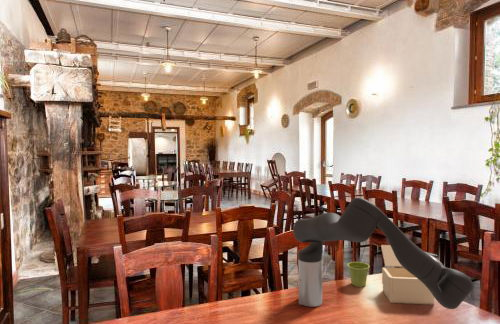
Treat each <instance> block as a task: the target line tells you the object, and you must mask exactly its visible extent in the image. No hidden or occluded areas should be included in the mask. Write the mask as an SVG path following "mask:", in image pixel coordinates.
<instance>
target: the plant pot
mask: <svg viewBox="0 0 500 324" xmlns="http://www.w3.org/2000/svg"><path fill="white" fill-rule="evenodd" d="M347 268H348V270H349V276H350V282H351V283H350V284H351V285H352V286H354V287H359V288H362V287H365V286H366V285H367V277H368V272H369V269H370V265H369V264H368V263H365V262H361V261H351V262H348V263H347Z"/></svg>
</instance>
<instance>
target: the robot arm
mask: <svg viewBox="0 0 500 324" xmlns="http://www.w3.org/2000/svg"><path fill="white" fill-rule="evenodd" d="M376 228H378V229H379V230H380V231H381V232H382V233H383V235H384V237H385V238H386V239H387V241H388V243H389V245H391V248H392V250H393V252H394V254H395V256H396V258H397V260H398V261H399V263H400V264H401V265H402V266H403V267H402V268H405V269H406V270H407V271H408V272H410V273H411V274H412V275H414V276H415V277H416V278H418V279H419V280H420V281H421V282H422V283H423V284H424V285H425V286H426V287H427V288H428V289H429V291H430V292H431V293H432V295H433V296H434V300H436V301H437V302H438V304H439V305H441V306H442V307H443V308H445V309H447V310H448V309H449V310H455V309H457V308H458V307H459V306H460V305H461V304H462V303H463V301H465V300H466V298H468V296H469V295H470V294H471V293H472V292H473V289H474V284H473V281H472V279H471V278H470V277H469V276H468V275H467V274H466V273H464V272H462V271H461V270H457V269H454V268H451V267H450V268H449V267H447V266H445V265H444V264H443V263H442V262H441V261H440V260H439V258H438V254H436V253H432V252H427V251H424V250H423V249H422V248H420V247H419V246H418V245H416V244H415V243H414V242H413V240H411V239H410V238H409V237H408V236H407V235H406V234H405V233H404V232H403V231H402V230H401V229H400V228H399V227H398V226H397V224H396V223H394V222H393V221H392V220H391V219H390V218H389V217H388V215H386V214H385V213H384V212H383V211H382V209H380V208H379V207H378V206H376V204H374V203H373V202H371V201H369V200H367V199H365V198H362V197H354V198H352V199H351V201H349V204H348V205H347V206H346V208H345V209H344V211H343V212H342V214H341V216H340V215H339V214H337V213H335V212H325V213H321V214H319V215H316V216H312V217H311V218H310V217H309V218H299V219H297V220H296V221H295V222H294V224H293V228H292V232H293V236H294V238H295V239H296V241H297V242H299V243H301V244H303V243H304V244H305V243H309V245H307V246H306V247H304V248H302V249H300V250H299V251H298V253H297V257H298V258H297V259H298V260H297V262H298V305H301V306H305V307H312V308H313V307H319V306H321V305H322V304H323V253H324V252H323V251H324V250H323V249H324V242H333V241H345V242H353V243H365V242H367V241H368V240H369V238H370V237H371V235H372V234H373V232H374V231H375V230H376Z"/></svg>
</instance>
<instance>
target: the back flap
mask: <svg viewBox="0 0 500 324" xmlns="http://www.w3.org/2000/svg"><path fill="white" fill-rule="evenodd" d="M380 246H381V251H382V252H381V253H382V257H383V263H384V267H395V268H404V267H403V266H402V265H401V264H400V263H399V261H398V260H397V258H396V256H395V254H394V252H393V250H392V248H391V245H390V244H381V245H380Z"/></svg>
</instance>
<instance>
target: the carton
mask: <svg viewBox="0 0 500 324" xmlns="http://www.w3.org/2000/svg"><path fill="white" fill-rule="evenodd" d="M381 270H382V271H381V273H382V275H381V277H382V278H381V281H382V283H381V284H382V292H383V293H384V295H385V296H386V297H387V299H388V301H389V303H391V304H405V305H407V304H410V305H411V304H412V305H432V306H433V305H435V297H434V296H433V295H432V293H431V292H430V291H429V289H428V288H427V287H426V286H425V285H424V284H423V283H422V282H421V281H420V280H419V279H418V278H416V277H415V276H414V275H412V274H411V273H410V272H408V271H407V270H406V269H405V268H404V267H389V266H384V267H381Z"/></svg>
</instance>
